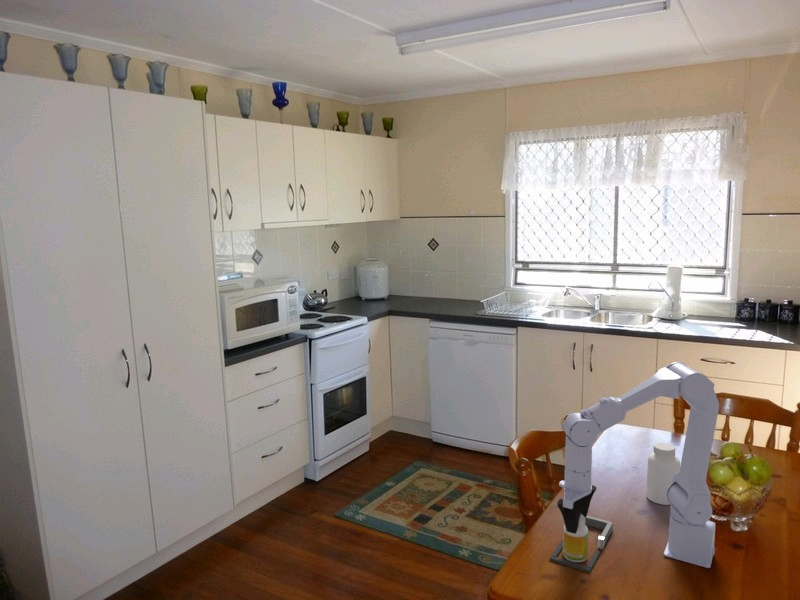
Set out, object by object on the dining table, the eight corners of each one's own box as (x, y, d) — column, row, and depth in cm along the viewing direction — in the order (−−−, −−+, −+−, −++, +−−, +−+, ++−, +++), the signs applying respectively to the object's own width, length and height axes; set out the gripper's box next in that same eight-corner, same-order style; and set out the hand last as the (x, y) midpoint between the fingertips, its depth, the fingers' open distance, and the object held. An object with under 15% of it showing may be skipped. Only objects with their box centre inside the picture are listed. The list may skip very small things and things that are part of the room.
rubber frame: (600, 553, 139) (600, 550, 138) (589, 572, 132) (589, 570, 131) (561, 542, 143) (561, 539, 143) (549, 560, 136) (549, 557, 136)
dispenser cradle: (612, 529, 148) (613, 520, 148) (602, 549, 140) (603, 539, 140) (575, 519, 153) (575, 511, 153) (563, 538, 145) (563, 528, 145)
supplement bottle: (588, 564, 134) (589, 524, 133) (562, 561, 136) (564, 521, 134) (586, 551, 140) (587, 512, 138) (562, 548, 141) (563, 509, 139)
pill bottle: (645, 503, 161) (648, 449, 158) (646, 489, 168) (648, 438, 165) (678, 508, 158) (682, 454, 155) (677, 494, 165) (680, 442, 162)
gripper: (570, 451, 142) (568, 505, 144) (549, 476, 130) (548, 534, 132) (600, 458, 138) (598, 513, 141) (582, 483, 126) (580, 543, 129)
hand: (576, 523), depth 136 cm, fingers open, 7 cm apart
